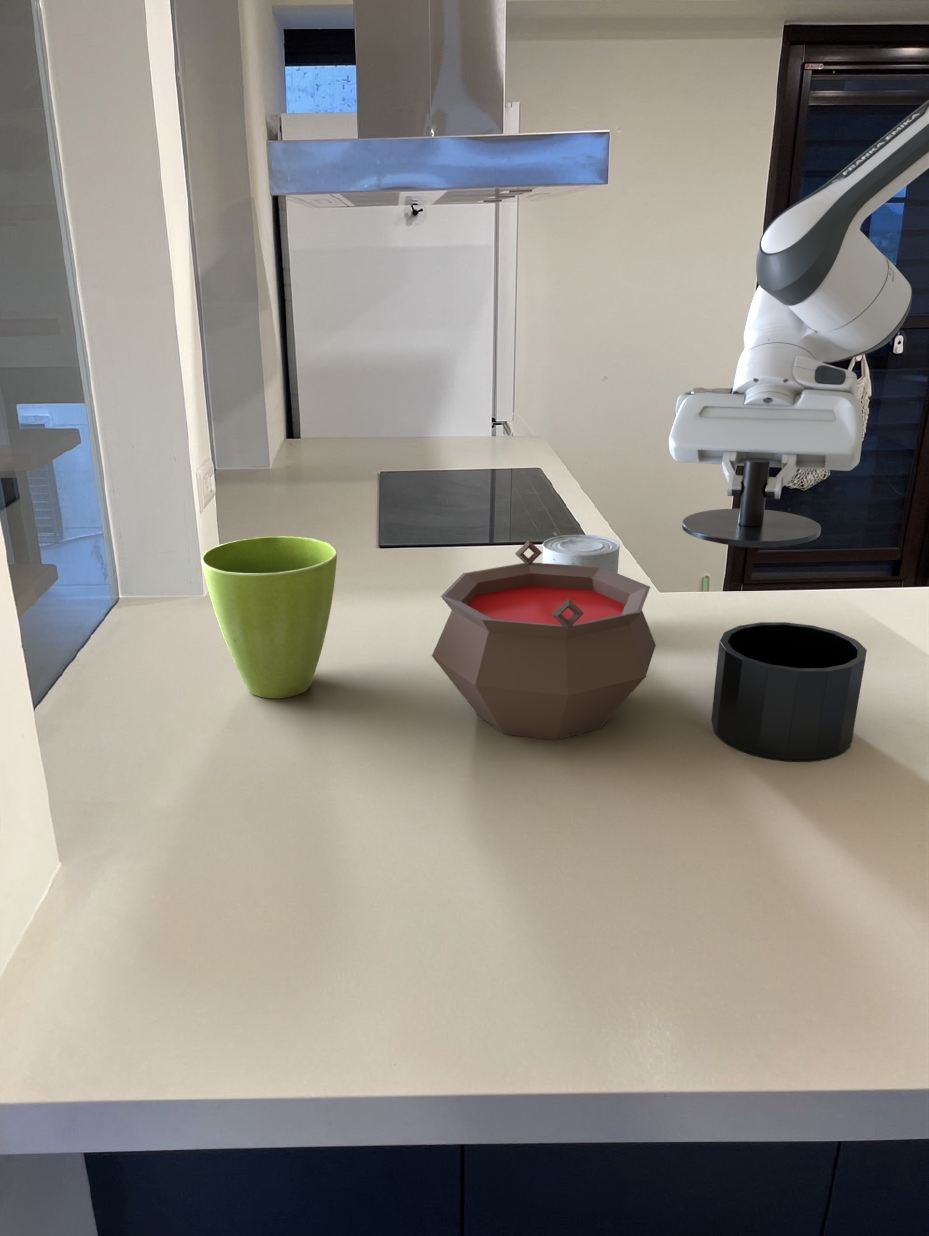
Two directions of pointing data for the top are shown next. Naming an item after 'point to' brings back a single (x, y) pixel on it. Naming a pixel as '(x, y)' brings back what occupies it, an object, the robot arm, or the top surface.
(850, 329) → the robot arm
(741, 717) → the pot
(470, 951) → the top surface
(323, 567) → the flower pot
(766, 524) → the lid
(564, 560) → the tin can
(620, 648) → the brown cauldron
